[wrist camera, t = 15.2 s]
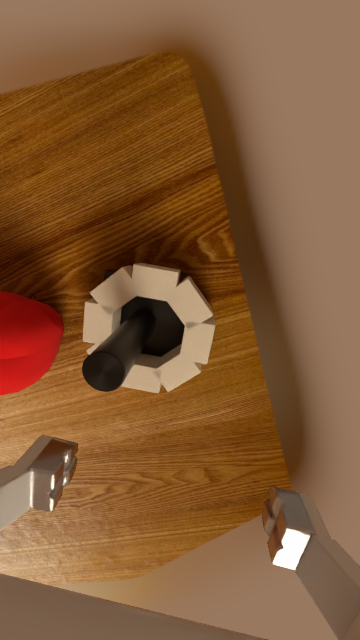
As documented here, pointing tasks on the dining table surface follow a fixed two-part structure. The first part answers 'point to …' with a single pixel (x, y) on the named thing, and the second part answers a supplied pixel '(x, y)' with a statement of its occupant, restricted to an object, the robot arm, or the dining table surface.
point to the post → (133, 341)
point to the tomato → (26, 340)
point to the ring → (182, 298)
